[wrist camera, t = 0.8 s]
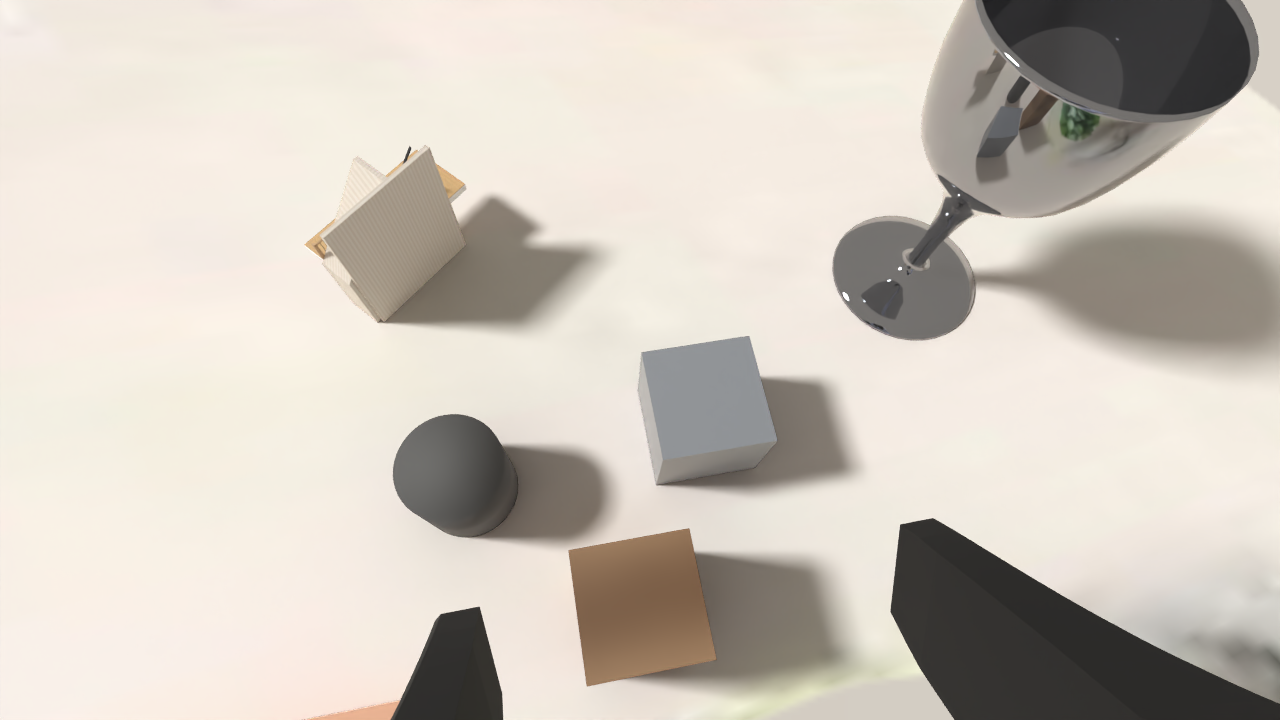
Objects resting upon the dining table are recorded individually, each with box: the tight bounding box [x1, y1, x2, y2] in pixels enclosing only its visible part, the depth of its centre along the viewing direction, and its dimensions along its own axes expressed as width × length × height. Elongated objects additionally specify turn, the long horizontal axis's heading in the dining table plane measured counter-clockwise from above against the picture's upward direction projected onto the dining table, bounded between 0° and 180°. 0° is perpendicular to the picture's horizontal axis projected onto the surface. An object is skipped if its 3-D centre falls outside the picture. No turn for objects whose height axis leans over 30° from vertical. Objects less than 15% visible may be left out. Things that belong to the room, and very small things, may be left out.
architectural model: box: [305, 145, 466, 323], centre depth 29 cm, size 3×7×7 cm, turn 142°
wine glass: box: [833, 0, 1259, 340], centre depth 26 cm, size 8×8×15 cm
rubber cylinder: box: [393, 414, 518, 537], centre depth 26 cm, size 4×4×4 cm
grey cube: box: [638, 336, 778, 485], centre depth 27 cm, size 4×4×4 cm
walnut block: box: [568, 528, 717, 686], centre depth 23 cm, size 4×4×6 cm
